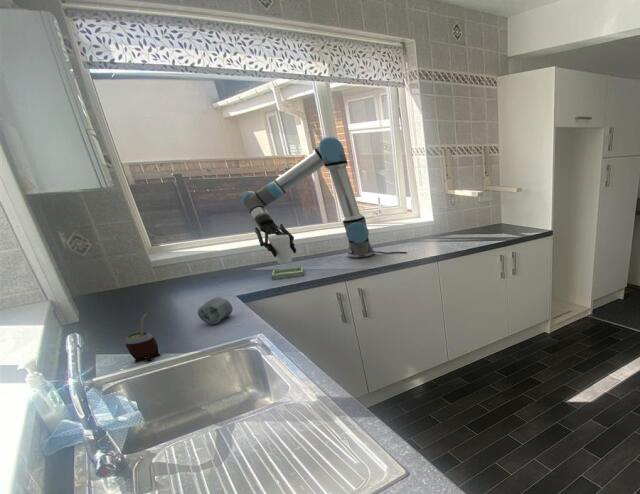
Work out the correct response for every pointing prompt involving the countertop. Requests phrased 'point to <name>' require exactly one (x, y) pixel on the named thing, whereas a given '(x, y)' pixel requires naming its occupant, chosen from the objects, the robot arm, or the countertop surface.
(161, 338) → the countertop surface
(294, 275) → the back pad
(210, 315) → the grey rolled towel
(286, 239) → the foam cup
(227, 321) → the countertop surface
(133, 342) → the mate gourd
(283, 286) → the countertop surface
